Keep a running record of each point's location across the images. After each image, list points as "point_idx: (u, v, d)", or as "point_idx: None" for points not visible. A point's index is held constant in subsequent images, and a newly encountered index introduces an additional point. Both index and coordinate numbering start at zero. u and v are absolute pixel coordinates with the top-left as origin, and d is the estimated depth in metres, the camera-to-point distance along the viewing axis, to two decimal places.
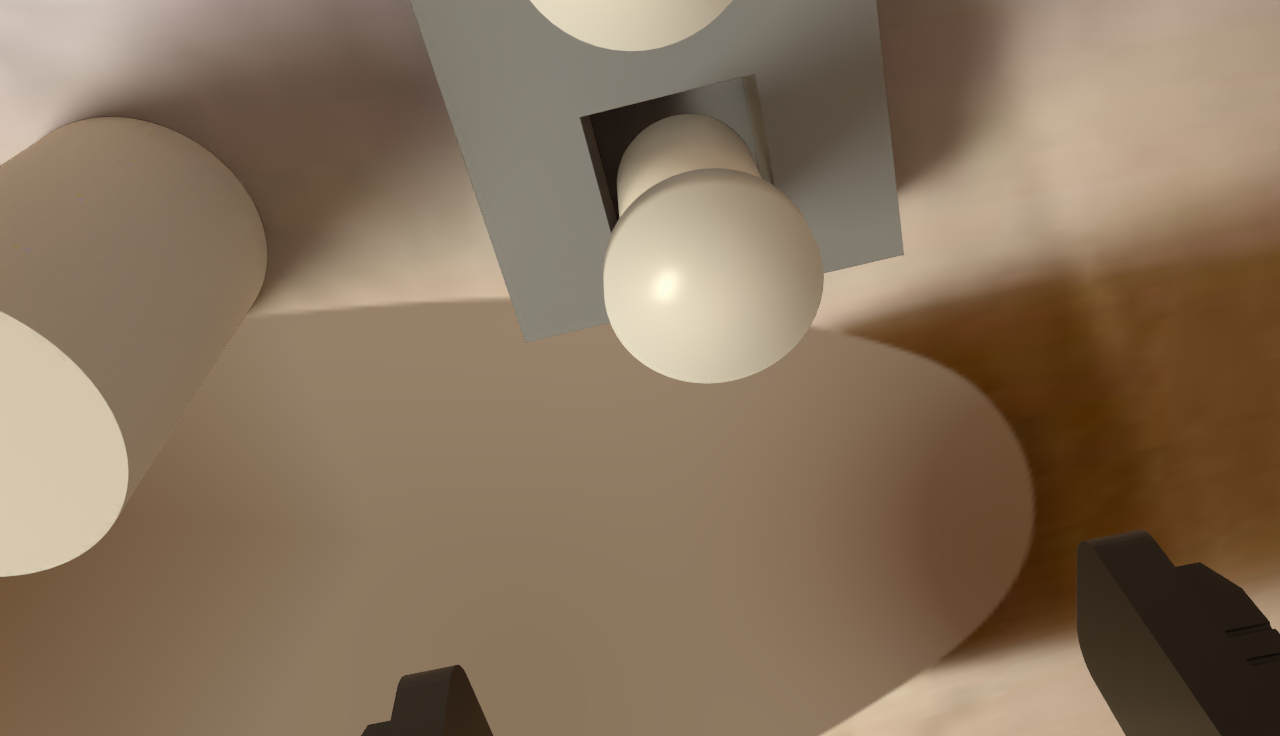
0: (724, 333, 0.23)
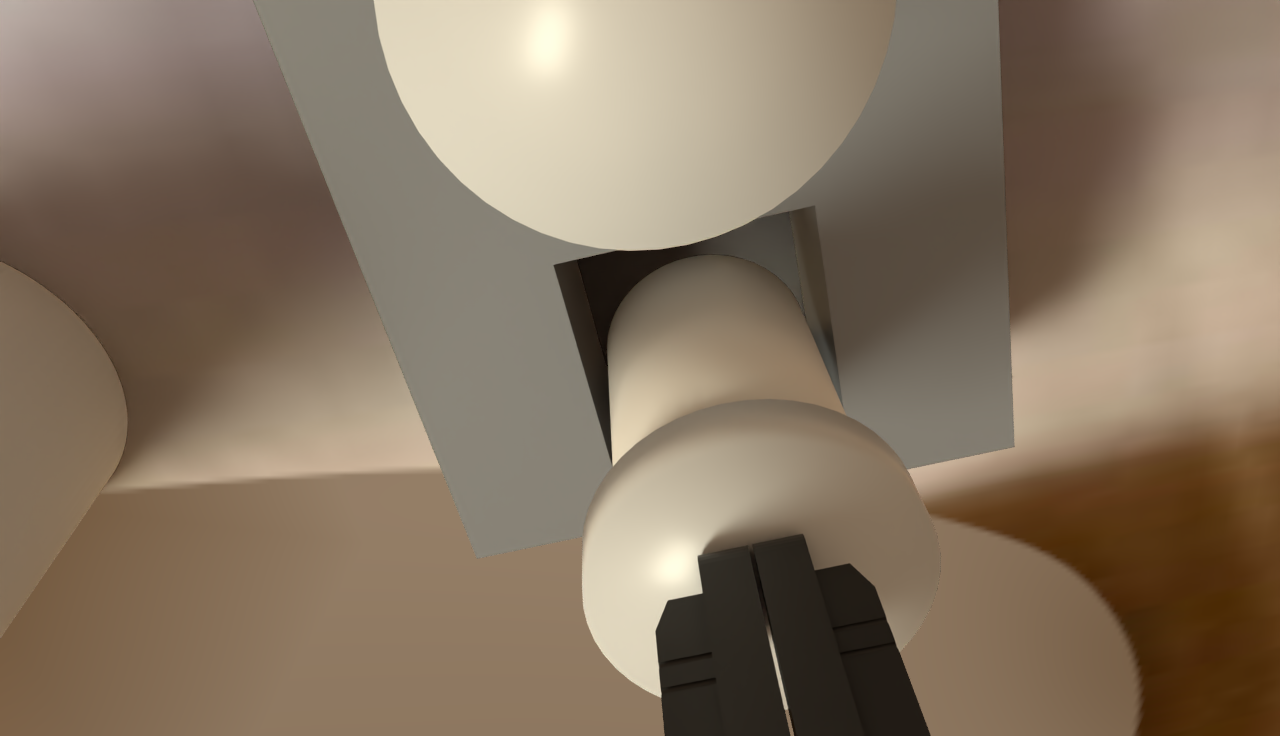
0: None
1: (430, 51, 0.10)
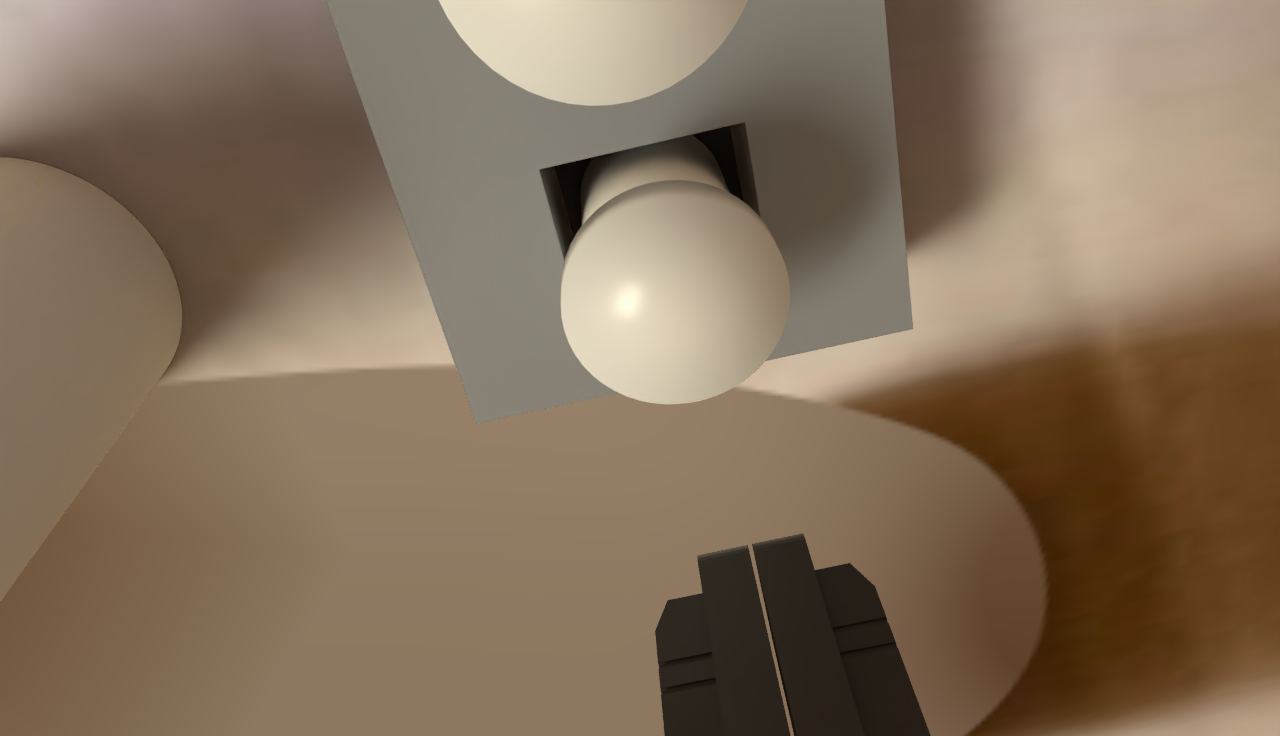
0: (687, 352, 0.22)
1: None
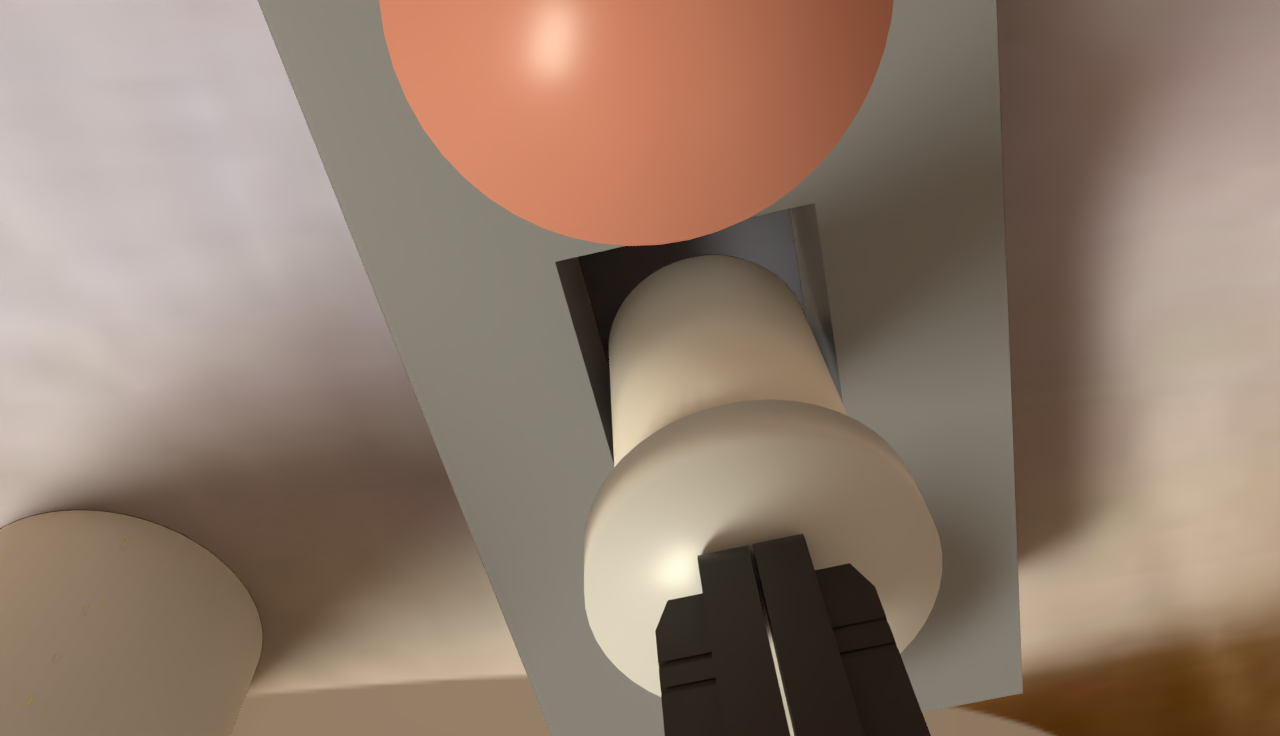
0: None
1: (619, 614, 0.14)
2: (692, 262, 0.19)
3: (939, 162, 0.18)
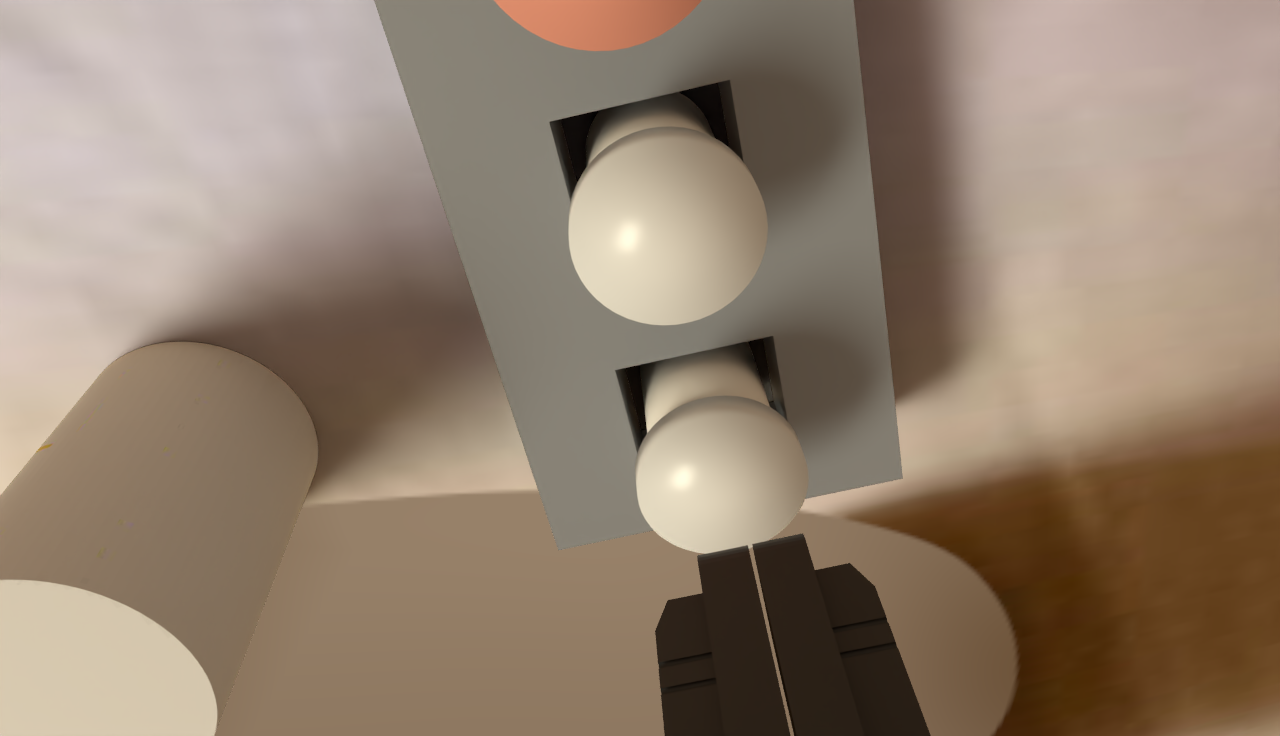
0: (730, 518, 0.29)
1: (588, 251, 0.25)
2: None
3: (815, 50, 0.26)
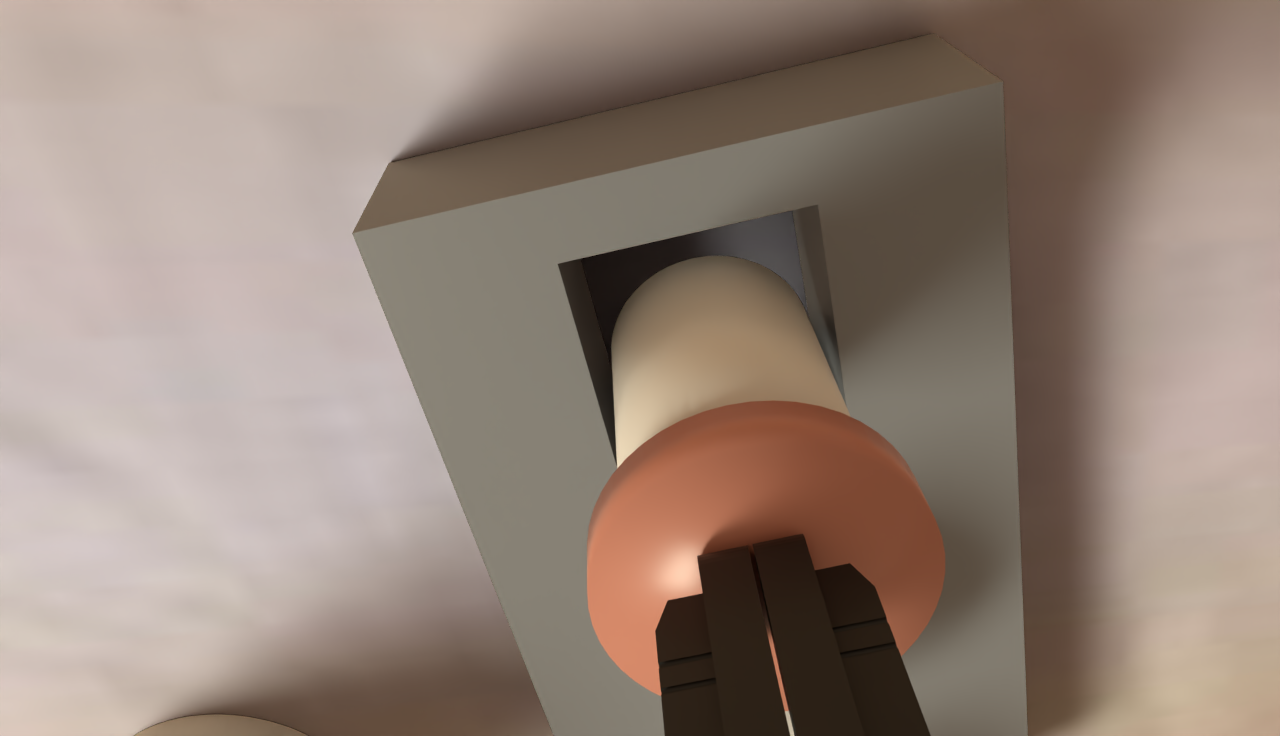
0: None
1: None
2: None
3: (967, 500, 0.22)
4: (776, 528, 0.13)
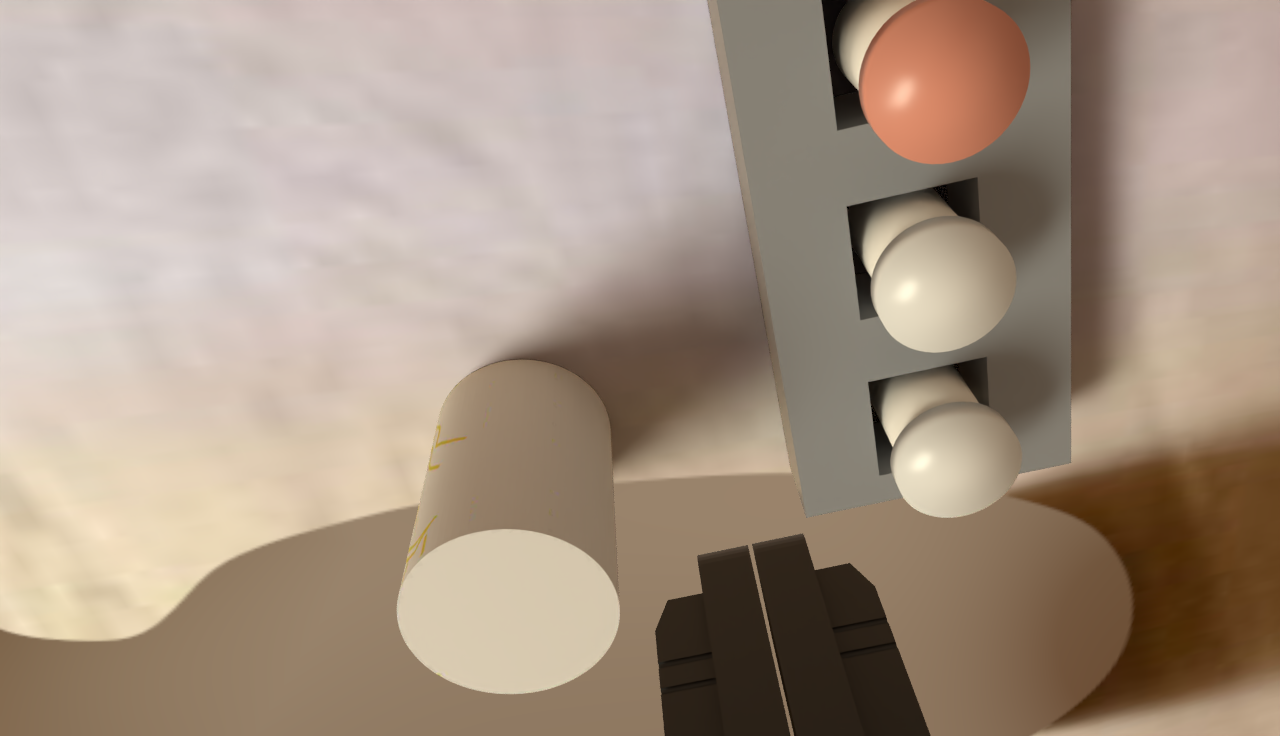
0: (961, 491, 0.40)
1: (890, 302, 0.36)
2: None
3: (1040, 156, 0.37)
4: (956, 47, 0.30)
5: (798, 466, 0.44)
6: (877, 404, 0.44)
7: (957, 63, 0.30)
